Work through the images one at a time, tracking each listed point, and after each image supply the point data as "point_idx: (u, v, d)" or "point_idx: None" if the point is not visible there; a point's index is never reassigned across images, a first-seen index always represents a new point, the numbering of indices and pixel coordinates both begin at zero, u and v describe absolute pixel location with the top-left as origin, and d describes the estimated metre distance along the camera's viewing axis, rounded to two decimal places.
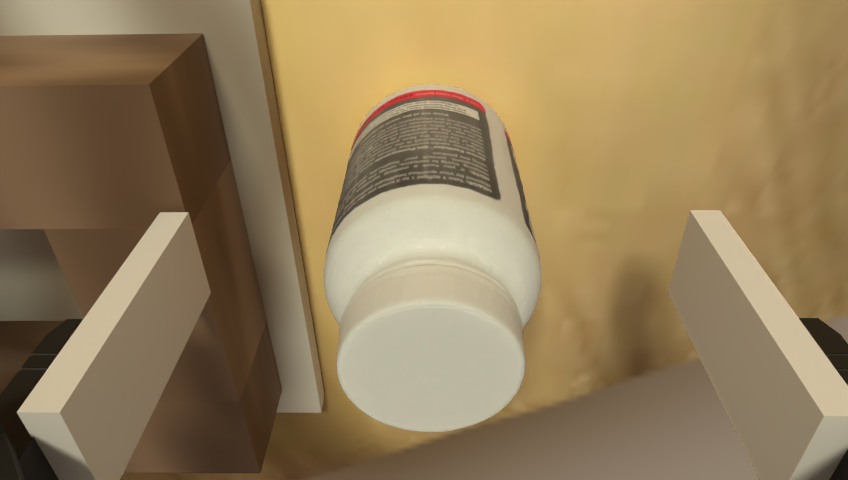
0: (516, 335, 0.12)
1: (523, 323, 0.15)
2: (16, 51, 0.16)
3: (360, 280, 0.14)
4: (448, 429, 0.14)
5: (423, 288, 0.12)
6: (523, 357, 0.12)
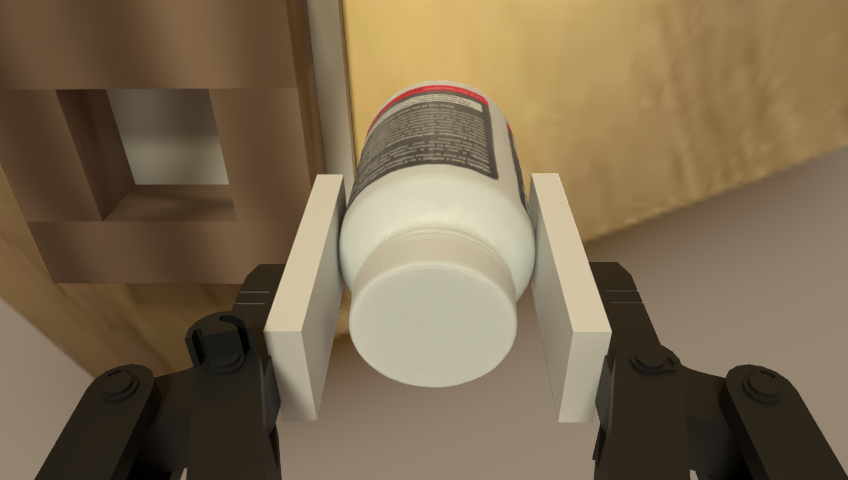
0: (508, 296, 0.14)
1: (518, 293, 0.16)
2: None
3: (371, 250, 0.15)
4: (448, 385, 0.15)
5: (426, 251, 0.13)
6: (515, 316, 0.14)
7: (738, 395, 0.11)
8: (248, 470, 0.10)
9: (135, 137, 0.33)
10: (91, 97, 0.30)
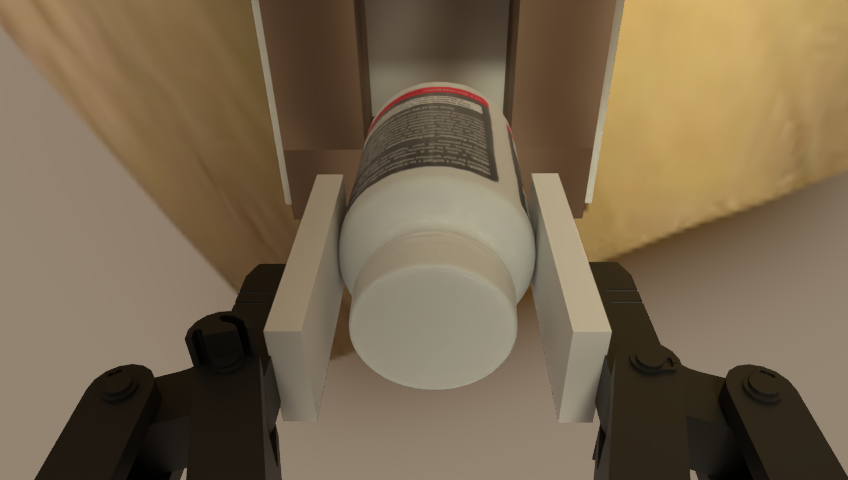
0: (509, 298, 0.14)
1: (519, 295, 0.16)
2: None
3: (371, 252, 0.15)
4: (448, 387, 0.15)
5: (426, 254, 0.13)
6: (515, 319, 0.14)
7: (738, 395, 0.11)
8: (248, 470, 0.10)
9: (384, 63, 0.31)
10: (361, 15, 0.28)
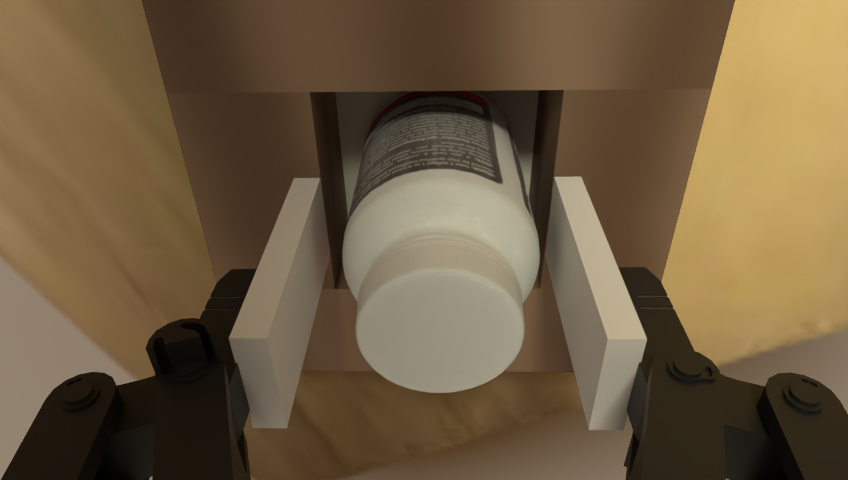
0: (516, 301, 0.14)
1: (523, 297, 0.16)
2: None
3: (376, 256, 0.15)
4: (455, 390, 0.15)
5: (433, 258, 0.13)
6: (522, 322, 0.14)
7: (778, 403, 0.10)
8: (215, 477, 0.09)
9: None
10: (328, 103, 0.20)
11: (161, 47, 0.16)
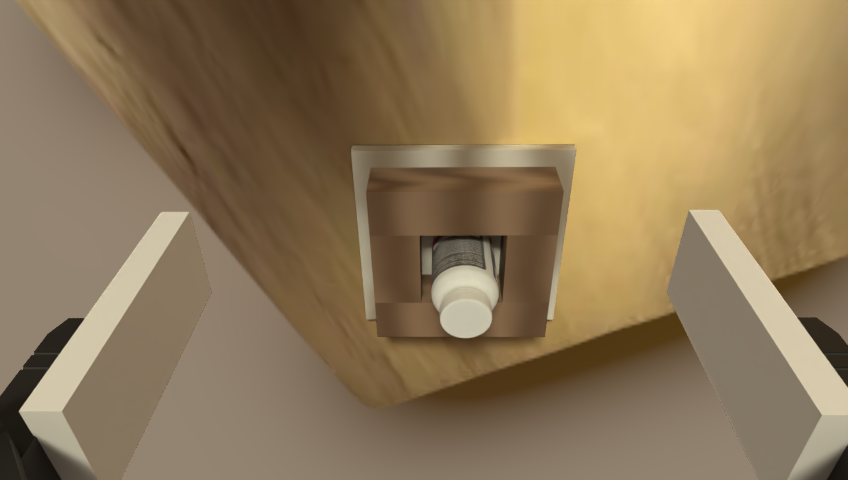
0: (489, 308, 0.45)
1: (493, 306, 0.48)
2: (500, 175, 0.48)
3: (444, 293, 0.47)
4: (470, 337, 0.47)
5: (464, 295, 0.45)
6: (491, 314, 0.45)
7: None
8: None
9: (430, 248, 0.54)
10: None
11: (370, 222, 0.48)
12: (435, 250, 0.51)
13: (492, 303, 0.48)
